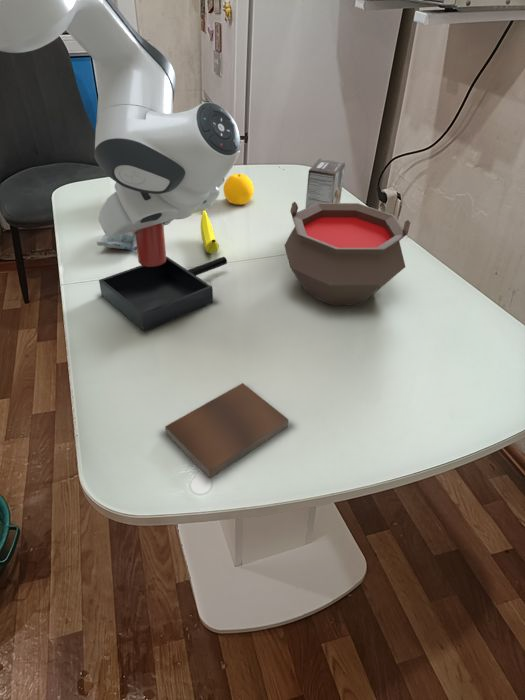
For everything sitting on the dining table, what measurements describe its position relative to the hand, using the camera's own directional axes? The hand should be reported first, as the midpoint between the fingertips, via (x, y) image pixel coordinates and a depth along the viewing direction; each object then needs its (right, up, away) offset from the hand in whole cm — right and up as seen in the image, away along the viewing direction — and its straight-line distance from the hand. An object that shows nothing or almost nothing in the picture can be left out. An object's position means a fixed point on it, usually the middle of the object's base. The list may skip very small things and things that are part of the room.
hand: (146, 226), depth 89 cm
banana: (+8, +1, +27) cm, 28 cm away
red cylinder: (0, -5, +4) cm, 6 cm away
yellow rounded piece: (+14, +18, +48) cm, 53 cm away
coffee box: (+34, +7, +35) cm, 49 cm away
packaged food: (-11, +2, +26) cm, 29 cm away
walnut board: (+15, -33, -17) cm, 40 cm away
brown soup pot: (+36, -9, +15) cm, 40 cm away
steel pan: (+3, -10, +11) cm, 15 cm away
